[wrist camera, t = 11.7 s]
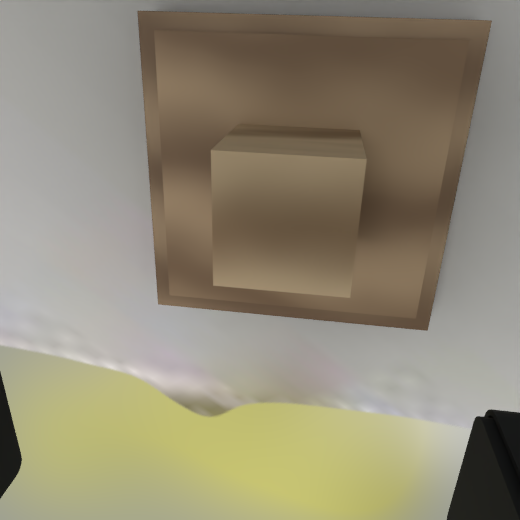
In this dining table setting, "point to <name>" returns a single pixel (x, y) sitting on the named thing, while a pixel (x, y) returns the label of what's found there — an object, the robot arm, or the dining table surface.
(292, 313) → the oak board
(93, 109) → the dining table surface
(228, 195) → the tan cube
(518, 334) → the dining table surface
